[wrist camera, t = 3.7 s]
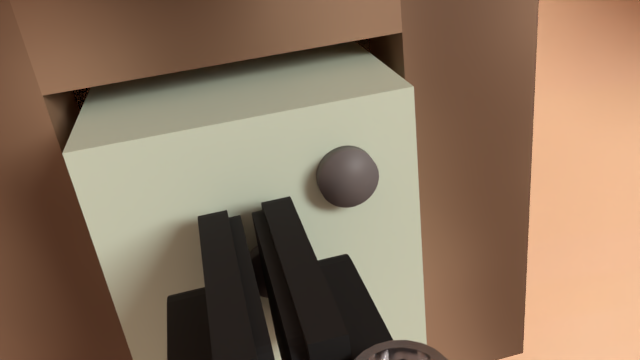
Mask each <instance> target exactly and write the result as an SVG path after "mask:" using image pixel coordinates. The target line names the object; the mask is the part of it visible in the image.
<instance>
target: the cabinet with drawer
mask: <svg viewBox="0 0 640 360" xmlns="http://www.w3.org/2000/svg"><path fill="white" fill-rule="evenodd" d="M538 4H539V0H0V360H133V358H132V355H131V352H130V349H129V347H128V344H127V341H126V338H125V335H124V332H123V329H122V326H121V323H120V320H119V317H118V314H117V312H116V309H115V306H114V303H113V300H112V297H111V294H110V291H109V288H108V285H107V282H106V280H105V277H104V274H103V271H102V268H101V265H100V262H99V259H98V256H97V253H96V250H95V247H94V245H93V242H92V239H91V236H90V233H89V230H88V227H87V224H86V221H85V218H84V215H83V213H82V210H81V207H80V204H79V201H78V198H77V195H76V192H75V189H74V186H73V183H72V180H71V178H70V175H69V172H68V169H67V166H66V163H65V160H64V157H63V154H62V153H63V151H64V148H65V146H66V144H67V141H68V139H69V137H70V134H71V132H72V130H73V127H74V125H75V123H76V120H77V118H78V115H79V113H80V112H79V109H78V106H77V103H76V100H75V97H74V94H73V90H78V89H83V88H89V87H95V86H100V85H106V84H112V83H117V82H123V81H129V80H134V79H140V78H146V77H151V76H157V75H163V74H169V73H174V72H180V71H186V70H191V69H197V68H203V67H208V66H214V65H220V64H225V63H231V62H237V61H243V60H248V59H254V58H260V57H265V56H271V55H277V54H282V53H288V52H294V51H299V50H305V49H311V48H316V47H322V46H328V45H334V44H339V43H345V42H351V41H356V40H362V39H369V51H370V53H371V54H372V55H373V56H375V57H376V58H377V59H379V60H380V61H381V62H382V63H384V64H385V65H386V66H388V67H389V68H390V69H392V70H393V71H394V72H396V73H397V74H398V75H399V76H401V77H402V78H403V79H405V80H406V81H407V82H409V83H410V84H411V85H412V86H414V100H415V120H416V140H417V160H418V180H419V200H420V220H421V240H422V260H423V280H424V300H425V320H426V340H427V345H428V346H430V347H432V348H434V349H436V350H437V351H439V352H440V353H441V354H442V355H443V356H445V357H446V358H447V359H448V360H498V359H502V358H506V357H509V356H513V355H517V354H520V353H523V340H524V317H525V295H526V273H527V250H528V228H529V205H530V183H531V161H532V138H533V116H534V93H535V71H536V48H537V26H538Z"/></svg>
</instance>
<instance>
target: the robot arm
mask: <svg viewBox="0 0 640 360" xmlns="http://www.w3.org/2000/svg"><path fill="white" fill-rule="evenodd" d="M261 206H262V210H260V211H256V212H252V219H253V224H254V229H255V234H256V239H257V244H258V249H259V254H260V259H261V265H262V270H263V275H264V280H265V285H266V290H267V295H268V300H269V305H270V310H271V315H272V321H273V326H274V330H275V335H276V339H277V344H278V348H279V352H280V356H281V360H448V359H447V358H446V357H445V356H443V355H442V354H441V353H440V352H439V351H437V350H436V349H434V348H432V347H430V346H428V345H426V344H423V343H420V342H415V341H410V340H393V338H392V336H391V335H390V333H389V331H388V329H387V327H386V325H385V323H384V321H383V319H382V317H381V315H380V313H379V311H378V310H377V308H376V306H375V304H374V302H373V300H372V298H371V296H370V294H369V292H368V290H367V288H366V286H365V285H364V283H363V281H362V279H361V277H360V275H359V273H358V271H357V269H356V267H355V265H354V263H353V262H352V260H351V258H350V256H349V255H348V254H343V255H338V256H334V257H330V258H326V259H321V260H317V258H316V255H315V253H314V251H313V248H312V246H311V244H310V241H309V239H308V237H307V234H306V232H305V230H304V227H303V225H302V223H301V220H300V218H299V215H298V213H297V211H296V208H295V206H294V204H293V201H292V199H291V197H290V196H289V197H284V198H279V199H275V200H270V201H266V202H261ZM198 227H199V236H200V246H201V255H202V265H203V274H204V284H205V287H203V288H198V289H194V290H190V291H186V292H182V293H177V294H173V295H169V296H168V297H167V360H275V358H274V353H273V349H272V344H271V340H270V336H269V332H268V328H267V324H266V319H265V315H264V311H263V307H262V303H261V299H260V295H259V290H258V286H257V282H256V278H255V274H254V270H253V266H252V262H251V257H250V253H249V249H248V245H247V241H246V237H245V233H244V228H243V224H242V220H241V216H240V215H238V216H233V217H229V216H228V212H227V210H224V211H220V212H215V213H210V214H206V215H201V216H198Z"/></svg>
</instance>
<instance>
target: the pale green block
mask: <svg viewBox="0 0 640 360" xmlns="http://www.w3.org/2000/svg"><path fill="white" fill-rule="evenodd" d="M62 154H63V157H64V160H65V163H66V166H67V169H68V172H69V175H70V178H71V180H72V183H73V186H74V189H75V192H76V195H77V198H78V201H79V204H80V207H81V210H82V213H83V215H84V218H85V221H86V224H87V227H88V230H89V233H90V236H91V239H92V242H93V245H94V247H95V250H96V253H97V256H98V259H99V262H100V265H101V268H102V271H103V274H104V277H105V280H106V282H107V285H108V288H109V291H110V294H111V297H112V300H113V303H114V306H115V309H116V312H117V314H118V317H119V320H120V323H121V326H122V329H123V332H124V335H125V338H126V341H127V344H128V347H129V349H130V352H131V355H132V358H133V360H167V297H168V296H169V295H173V294H177V293H182V292H186V291H190V290H194V289H198V288H203V287H205V284H204V274H203V265H202V255H201V246H200V236H199V227H198V216H201V215H206V214H210V213H215V212H220V211H224V210H227V212H228V216H229V217H233V216H238V215H240V216H241V220H242V224H243V228H244V233H245V237H246V241H247V245H248V249H249V253H250V257H251V262H252V266H253V270H254V274H255V278H256V282H257V286H258V290H259V295H260V299H261V303H262V307H263V311H264V315H265V319H266V324H267V328H268V332H269V336H270V340H271V344H272V349H273V353H274V358H275V360H281V356H280V352H279V348H278V344H277V339H276V335H275V330H274V326H273V321H272V315H271V310H270V305H269V300H268V295H267V290H266V285H265V280H264V275H263V270H262V265H261V259H260V254H259V249H258V244H257V239H256V234H255V229H254V224H253V219H252V212H256V211H260V210H262V206H261V202H266V201H270V200H275V199H279V198H284V197H289V196H290V197H291V199H292V201H293V204H294V206H295V208H296V211H297V213H298V215H299V218H300V220H301V223H302V225H303V227H304V230H305V232H306V234H307V237H308V239H309V241H310V244H311V246H312V248H313V251H314V253H315V255H316V258H317V260H321V259H326V258H330V257H334V256H338V255H343V254H348V255H349V256H350V258H351V260H352V262H353V263H354V265H355V267H356V269H357V271H358V273H359V275H360V277H361V279H362V281H363V283H364V285H365V286H366V288H367V290H368V292H369V294H370V296H371V298H372V300H373V302H374V304H375V306H376V308H377V310H378V311H379V313H380V315H381V317H382V319H383V321H384V323H385V325H386V327H387V329H388V331H389V333H390V335H391V336H392V338H393V340H410V341H415V342H420V343H423V344H426V345H427V340H426V320H425V300H424V280H423V260H422V240H421V220H420V200H419V180H418V160H417V140H416V120H415V100H414V86H412V85H411V84H410V83H409V82H407V81H406V80H405V79H403V78H402V77H401V76H399V75H398V74H397V73H396V72H394V71H393V70H392V69H390V68H389V67H388V66H386V65H385V64H384V63H382V62H381V61H380V60H379V59H377V58H376V57H375V56H373V55H372V54H371V53H369V52H368V51H367V50H366V49H364V48H363V47H362V46H360V45H359V44H358V43H356V42H355V41H351V42H345V43H339V44H334V45H328V46H322V47H316V48H311V49H305V50H299V51H294V52H288V53H282V54H277V55H271V56H265V57H260V58H254V59H248V60H243V61H237V62H231V63H225V64H220V65H214V66H208V67H203V68H197V69H191V70H186V71H180V72H174V73H169V74H163V75H157V76H151V77H146V78H140V79H134V80H129V81H123V82H117V83H112V84H106V85H100V86H95V87H90V90H89V92H88V94H87V97H86V99H85V101H84V104H83V106H82V108H81V111H80V113H79V115H78V118H77V120H76V123H75V125H74V127H73V130H72V132H71V134H70V137H69V139H68V141H67V144H66V146H65V148H64V151H63V153H62Z"/></svg>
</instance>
